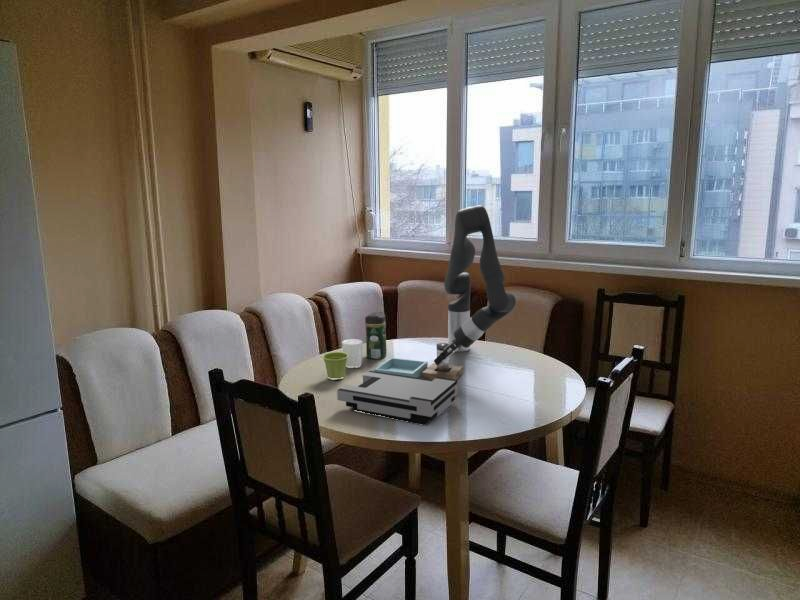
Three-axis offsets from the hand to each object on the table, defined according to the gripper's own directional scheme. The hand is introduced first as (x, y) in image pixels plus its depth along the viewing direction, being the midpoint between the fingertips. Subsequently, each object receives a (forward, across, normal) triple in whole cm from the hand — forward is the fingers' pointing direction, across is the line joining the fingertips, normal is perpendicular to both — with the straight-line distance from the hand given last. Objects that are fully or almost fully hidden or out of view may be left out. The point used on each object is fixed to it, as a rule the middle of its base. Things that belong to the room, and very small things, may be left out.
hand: (438, 360), depth 203 cm
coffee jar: (+27, -14, -19) cm, 36 cm away
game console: (+6, +33, +3) cm, 34 cm away
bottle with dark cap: (+3, 0, +5) cm, 6 cm away
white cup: (+29, +1, -21) cm, 36 cm away
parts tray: (+13, +5, -5) cm, 15 cm away
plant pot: (+28, +16, -20) cm, 38 cm away
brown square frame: (+3, 0, +5) cm, 6 cm away
